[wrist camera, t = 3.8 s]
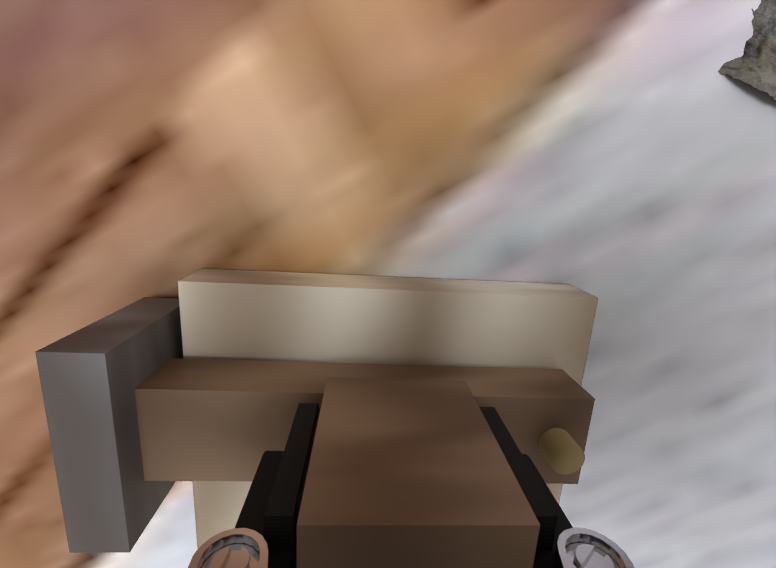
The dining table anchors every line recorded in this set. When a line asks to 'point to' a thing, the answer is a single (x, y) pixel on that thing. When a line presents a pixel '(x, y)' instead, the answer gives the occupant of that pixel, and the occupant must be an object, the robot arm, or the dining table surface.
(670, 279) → the dining table surface
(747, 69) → the driftwood
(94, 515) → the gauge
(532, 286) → the board
